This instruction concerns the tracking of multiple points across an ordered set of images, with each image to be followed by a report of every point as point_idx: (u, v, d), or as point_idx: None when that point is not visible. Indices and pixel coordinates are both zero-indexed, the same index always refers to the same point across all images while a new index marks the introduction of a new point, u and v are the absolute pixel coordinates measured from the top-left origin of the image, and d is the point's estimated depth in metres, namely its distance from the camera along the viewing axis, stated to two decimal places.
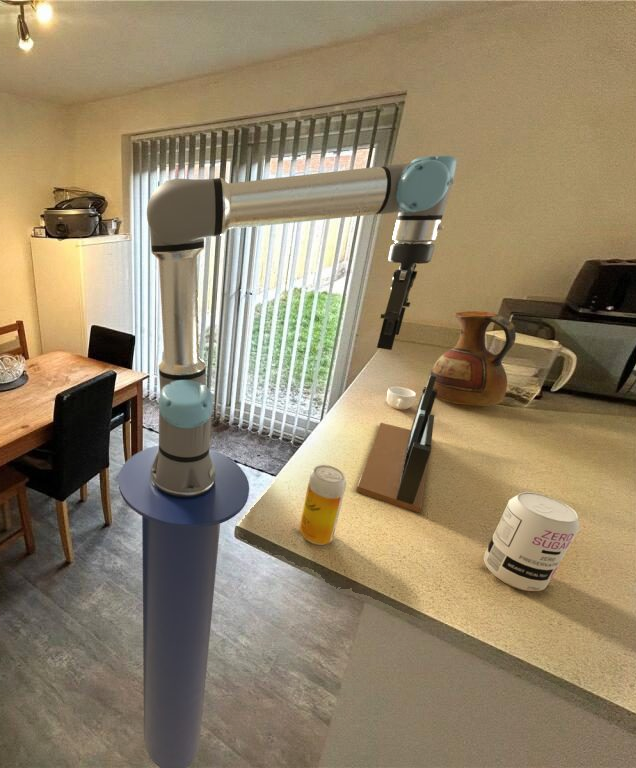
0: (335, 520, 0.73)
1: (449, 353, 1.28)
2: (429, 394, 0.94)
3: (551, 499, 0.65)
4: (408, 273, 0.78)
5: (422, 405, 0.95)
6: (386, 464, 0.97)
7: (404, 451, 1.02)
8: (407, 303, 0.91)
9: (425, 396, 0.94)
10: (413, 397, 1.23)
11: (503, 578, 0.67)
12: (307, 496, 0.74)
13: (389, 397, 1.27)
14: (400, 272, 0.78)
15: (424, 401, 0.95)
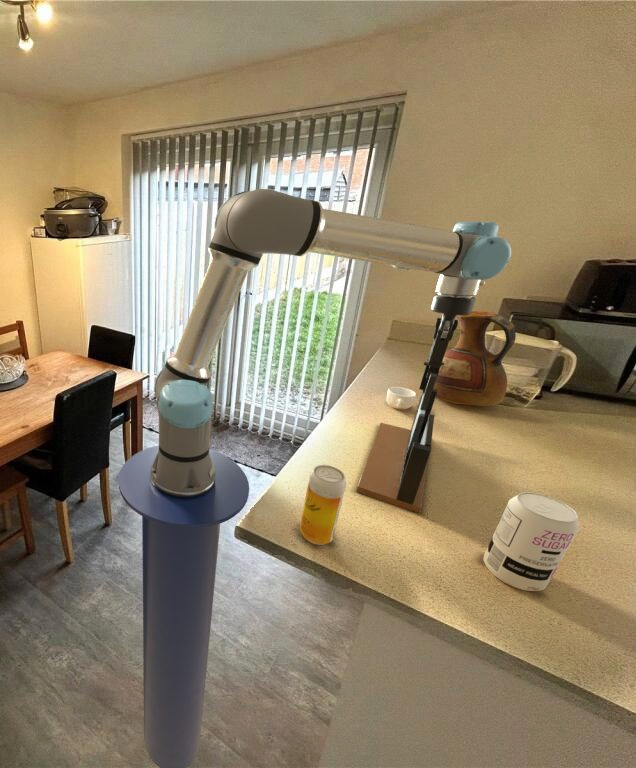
0: (335, 520, 0.73)
1: (449, 353, 1.28)
2: (429, 394, 0.94)
3: (551, 499, 0.65)
4: (449, 335, 0.87)
5: (422, 405, 0.95)
6: (386, 464, 0.97)
7: (404, 451, 1.02)
8: (441, 362, 0.95)
9: (425, 396, 0.94)
10: (413, 397, 1.23)
11: (503, 578, 0.67)
12: (307, 496, 0.74)
13: (389, 397, 1.27)
14: (441, 333, 0.88)
15: (424, 401, 0.95)
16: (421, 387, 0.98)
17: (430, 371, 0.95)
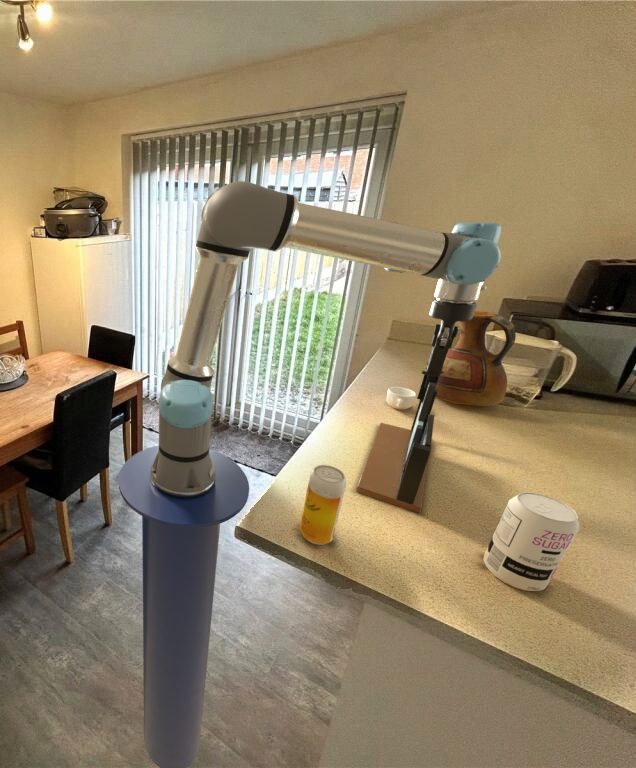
0: (335, 520, 0.73)
1: (449, 353, 1.28)
2: (427, 405, 0.89)
3: (551, 499, 0.65)
4: (448, 343, 0.82)
5: (420, 416, 0.90)
6: (386, 464, 0.97)
7: (404, 451, 1.02)
8: (440, 370, 0.90)
9: (423, 407, 0.89)
10: (413, 397, 1.23)
11: (503, 578, 0.67)
12: (307, 496, 0.74)
13: (389, 397, 1.27)
14: (440, 341, 0.83)
15: (422, 412, 0.90)
16: (419, 397, 0.93)
17: (428, 380, 0.90)
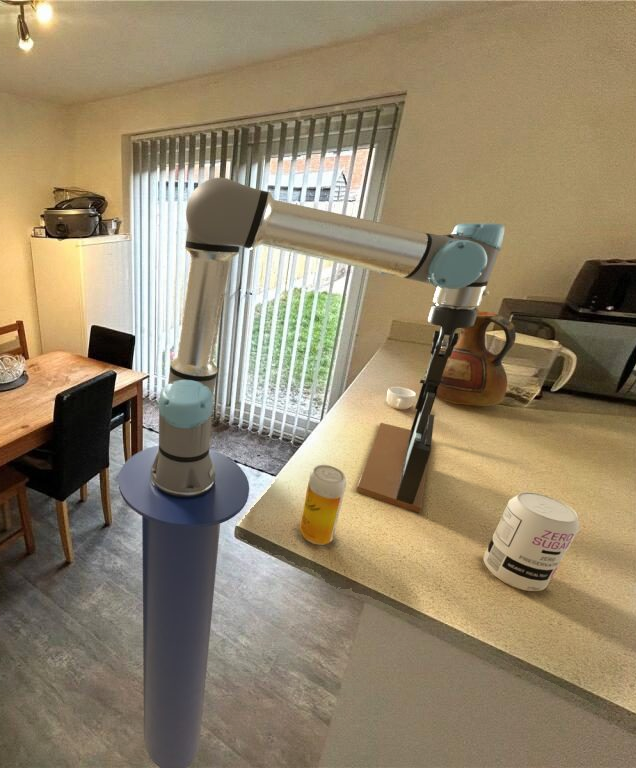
0: (335, 520, 0.73)
1: None
2: (426, 416, 0.84)
3: (551, 499, 0.65)
4: (448, 351, 0.77)
5: (418, 428, 0.85)
6: (386, 464, 0.97)
7: (404, 451, 1.02)
8: (440, 379, 0.85)
9: (421, 418, 0.84)
10: (413, 397, 1.23)
11: (503, 578, 0.67)
12: (307, 496, 0.74)
13: (389, 397, 1.27)
14: (439, 349, 0.78)
15: (420, 424, 0.85)
16: (417, 407, 0.88)
17: (427, 390, 0.85)
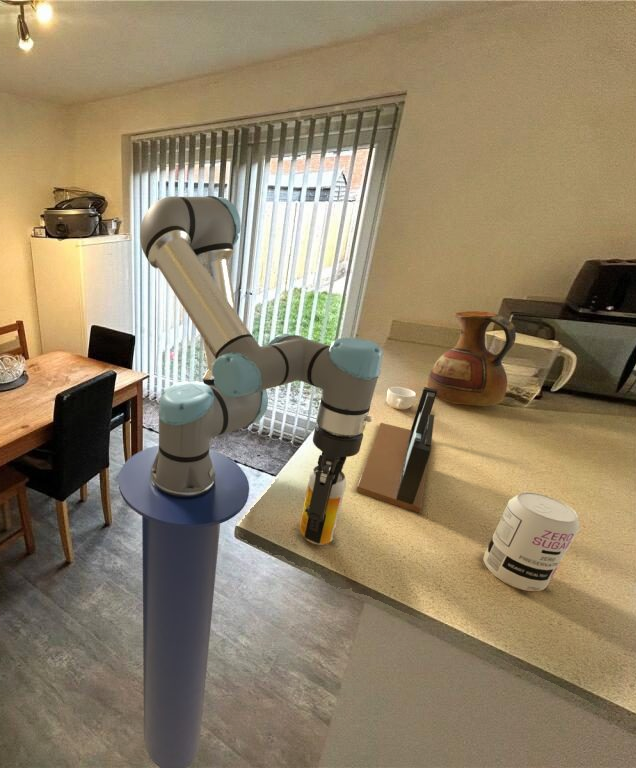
0: (335, 520, 0.73)
1: (449, 353, 1.28)
2: (426, 416, 0.84)
3: (551, 499, 0.65)
4: (328, 480, 0.66)
5: (418, 428, 0.85)
6: (386, 464, 0.97)
7: (404, 451, 1.02)
8: None
9: (421, 418, 0.84)
10: (413, 397, 1.23)
11: (503, 578, 0.67)
12: (307, 496, 0.74)
13: (389, 397, 1.27)
14: (320, 476, 0.66)
15: (420, 424, 0.85)
16: (306, 536, 0.75)
17: (313, 521, 0.72)
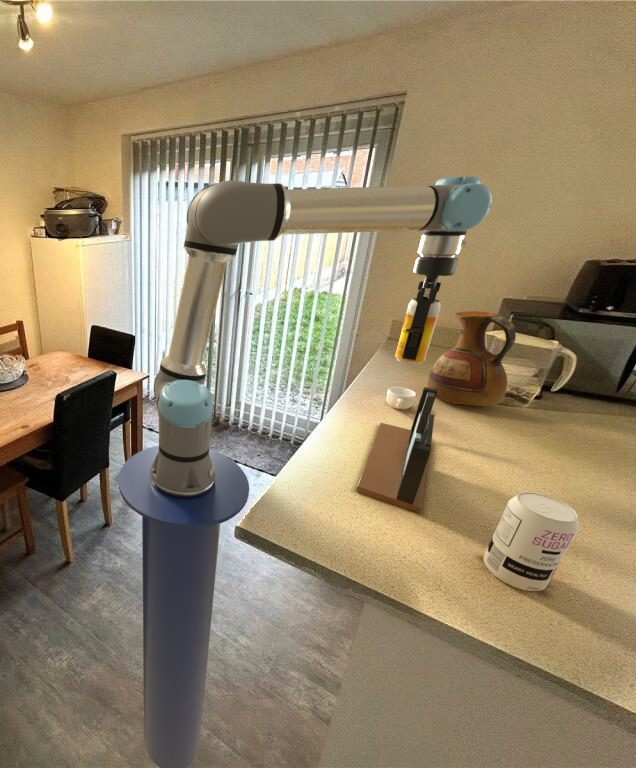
0: (429, 340, 0.91)
1: (449, 353, 1.28)
2: (426, 416, 0.84)
3: (551, 499, 0.65)
4: (432, 292, 0.84)
5: (418, 428, 0.85)
6: (386, 464, 0.97)
7: (404, 451, 1.02)
8: None
9: (421, 418, 0.84)
10: (413, 397, 1.23)
11: (503, 578, 0.67)
12: (406, 323, 0.92)
13: (389, 397, 1.27)
14: (424, 291, 0.84)
15: (420, 424, 0.85)
16: (404, 356, 0.93)
17: (413, 338, 0.90)
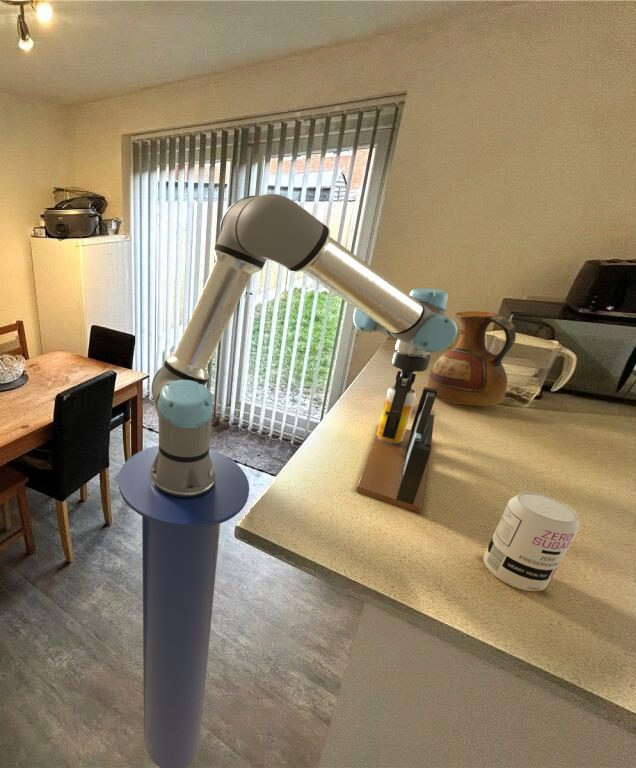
0: (406, 424, 1.02)
1: (449, 353, 1.28)
2: (426, 416, 0.84)
3: (551, 499, 0.65)
4: (408, 381, 0.94)
5: (418, 428, 0.85)
6: (386, 464, 0.97)
7: (404, 451, 1.02)
8: None
9: (421, 418, 0.84)
10: None
11: (503, 578, 0.67)
12: (385, 408, 1.04)
13: None
14: (402, 380, 0.95)
15: (420, 424, 0.85)
16: (384, 434, 1.01)
17: (391, 420, 0.98)
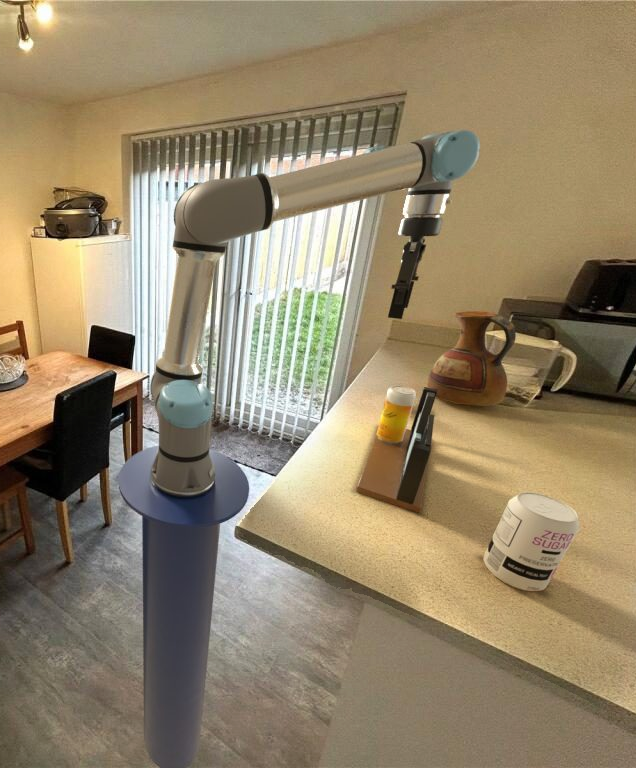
0: (406, 424, 1.02)
1: (449, 353, 1.28)
2: (426, 416, 0.84)
3: (551, 499, 0.65)
4: (418, 244, 0.82)
5: (418, 428, 0.85)
6: (386, 464, 0.97)
7: (404, 451, 1.02)
8: (416, 277, 0.96)
9: (421, 418, 0.84)
10: None
11: (503, 578, 0.67)
12: (385, 408, 1.04)
13: None
14: (410, 244, 0.83)
15: (420, 424, 0.85)
16: (390, 315, 0.89)
17: (398, 295, 0.86)
